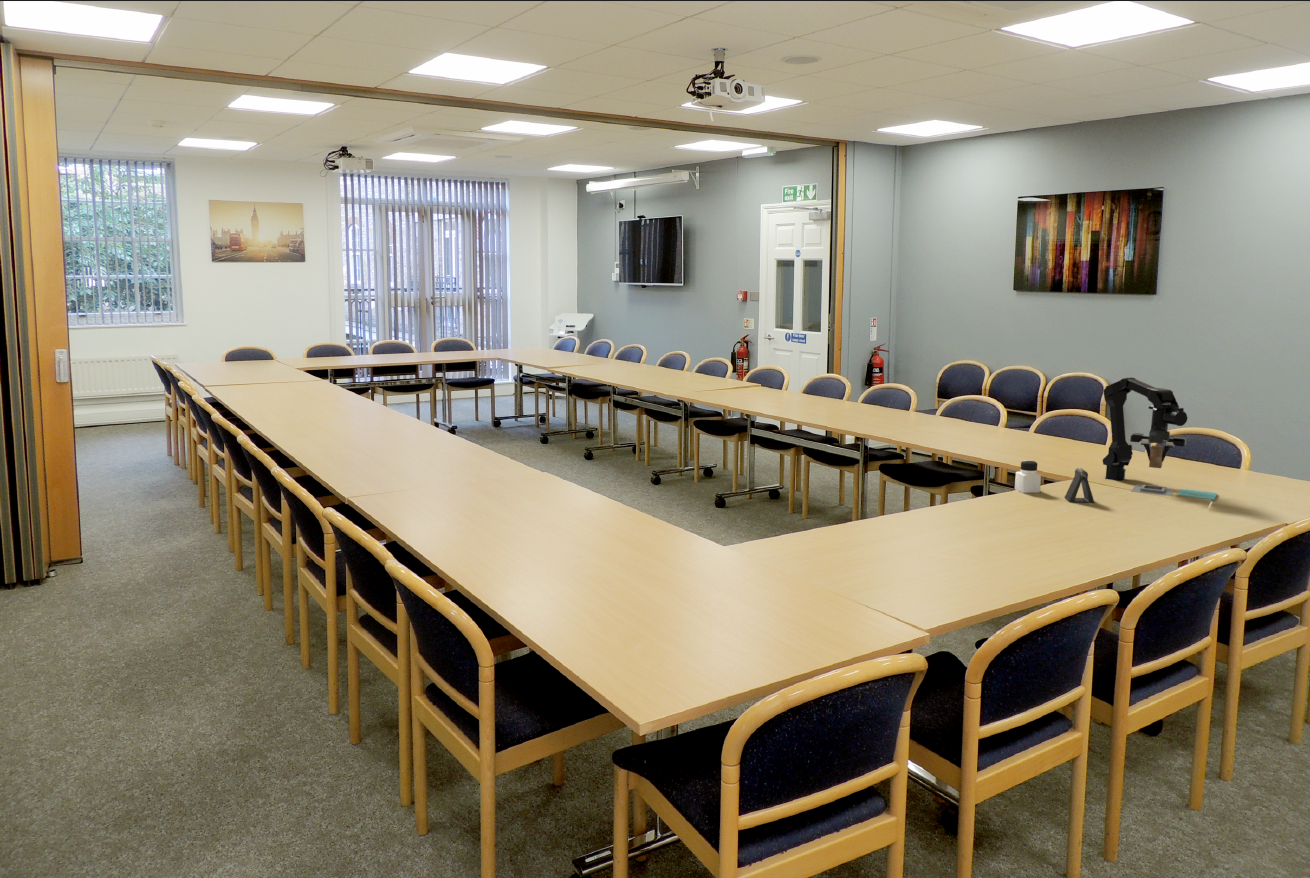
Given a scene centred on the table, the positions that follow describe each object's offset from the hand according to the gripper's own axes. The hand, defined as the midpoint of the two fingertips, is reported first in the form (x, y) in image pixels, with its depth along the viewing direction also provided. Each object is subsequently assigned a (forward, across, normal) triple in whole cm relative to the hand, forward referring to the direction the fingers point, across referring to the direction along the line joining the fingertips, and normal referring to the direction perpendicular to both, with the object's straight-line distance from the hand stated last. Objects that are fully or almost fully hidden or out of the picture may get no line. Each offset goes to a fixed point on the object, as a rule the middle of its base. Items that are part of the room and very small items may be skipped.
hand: (1156, 461), depth 357 cm
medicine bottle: (+12, -41, -26) cm, 50 cm away
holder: (+12, 0, 0) cm, 12 cm away
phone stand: (+12, -21, -31) cm, 39 cm away
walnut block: (+2, 0, 0) cm, 2 cm away
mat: (+12, +15, +2) cm, 19 cm away
